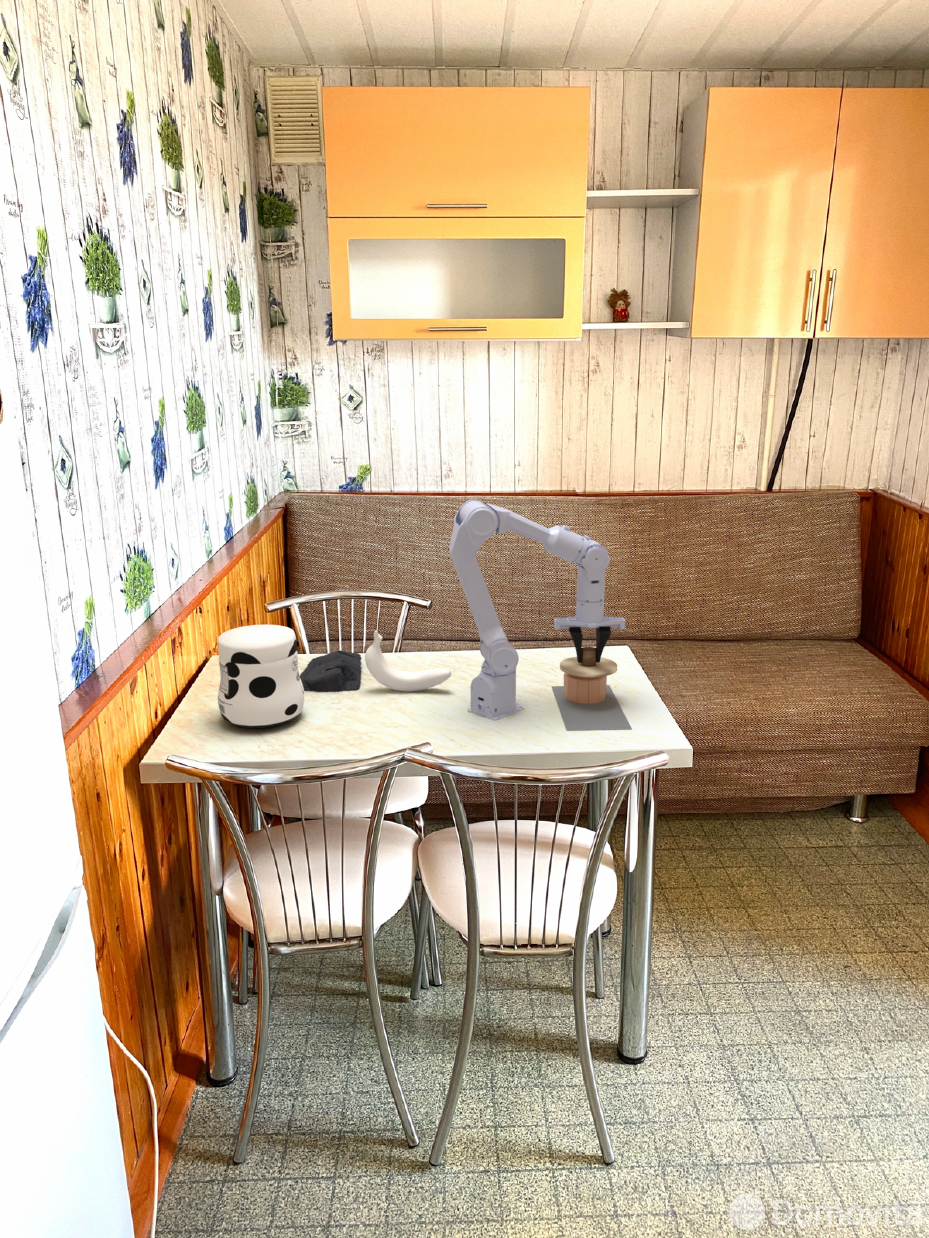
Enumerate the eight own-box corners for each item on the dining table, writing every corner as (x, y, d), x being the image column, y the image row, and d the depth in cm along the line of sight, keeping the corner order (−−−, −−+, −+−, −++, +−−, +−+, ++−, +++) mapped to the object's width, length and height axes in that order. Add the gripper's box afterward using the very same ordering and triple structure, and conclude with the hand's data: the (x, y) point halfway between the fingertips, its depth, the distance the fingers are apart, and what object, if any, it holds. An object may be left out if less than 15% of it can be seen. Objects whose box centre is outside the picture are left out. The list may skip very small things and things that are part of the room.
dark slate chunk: (370, 662, 227) (370, 643, 225) (358, 694, 205) (357, 674, 204) (308, 662, 227) (307, 643, 226) (289, 694, 206) (288, 674, 205)
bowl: (589, 706, 195) (590, 684, 193) (555, 696, 201) (555, 674, 199) (614, 695, 201) (614, 673, 200) (580, 685, 207) (580, 664, 206)
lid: (594, 681, 187) (595, 660, 186) (548, 668, 195) (548, 649, 194) (628, 667, 196) (629, 648, 195) (582, 656, 204) (582, 637, 203)
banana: (451, 695, 203) (450, 631, 199) (365, 695, 203) (362, 631, 199) (452, 687, 208) (451, 624, 204) (367, 687, 208) (364, 625, 204)
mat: (632, 731, 183) (632, 729, 183) (566, 732, 183) (566, 730, 183) (609, 686, 207) (609, 685, 207) (551, 687, 207) (551, 686, 207)
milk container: (320, 708, 196) (316, 627, 191) (277, 740, 181) (271, 652, 176) (249, 699, 202) (243, 619, 197) (202, 728, 186) (194, 643, 181)
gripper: (557, 604, 188) (556, 667, 191) (629, 603, 188) (626, 666, 192) (553, 595, 194) (552, 656, 198) (622, 594, 195) (620, 655, 198)
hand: (588, 661), depth 195 cm, fingers closed on lid, 3 cm apart
